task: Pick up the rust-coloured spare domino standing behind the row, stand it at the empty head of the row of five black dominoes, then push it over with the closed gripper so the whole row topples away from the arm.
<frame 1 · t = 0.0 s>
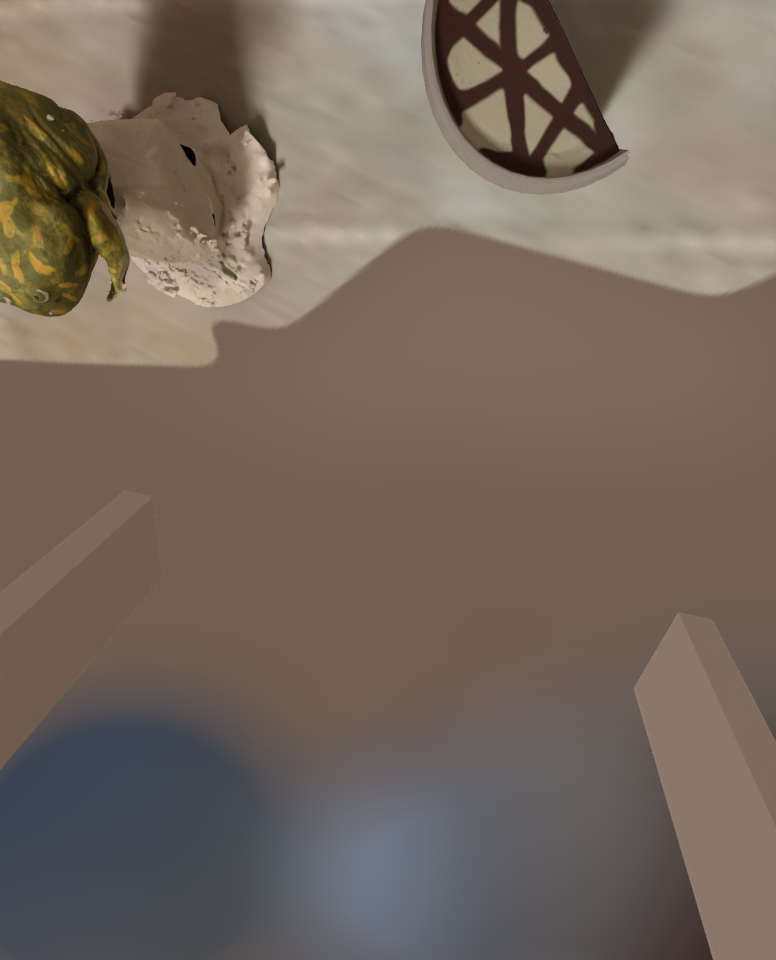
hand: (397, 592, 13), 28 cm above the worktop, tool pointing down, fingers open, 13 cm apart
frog: (202, 209, 36), on the worktop
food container: (496, 111, 31), on the worktop
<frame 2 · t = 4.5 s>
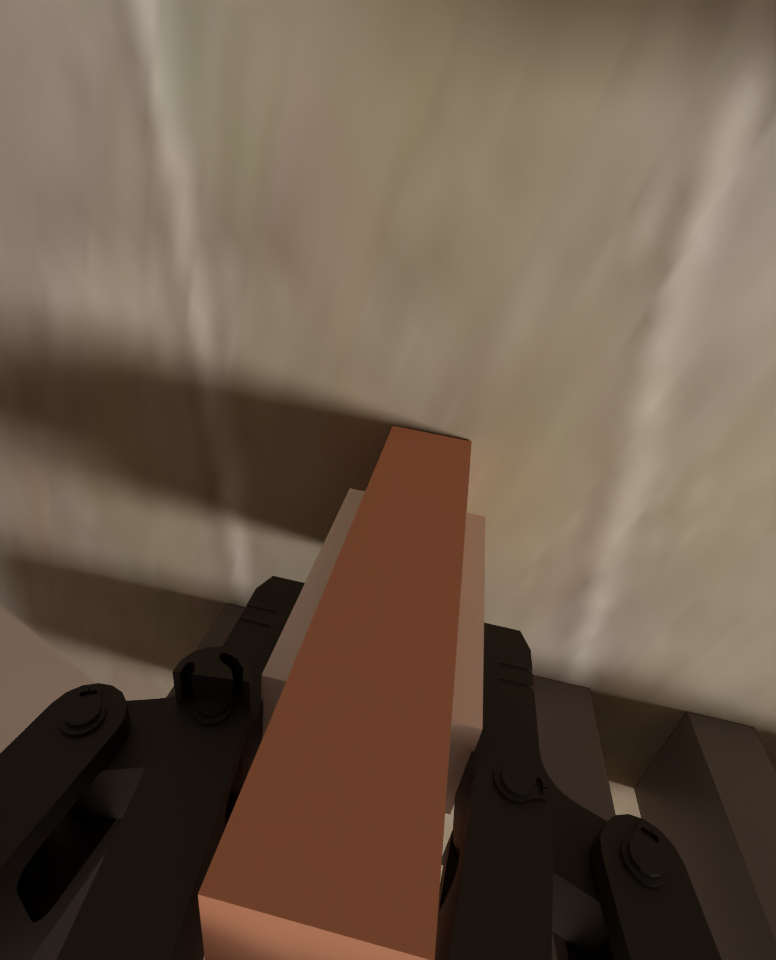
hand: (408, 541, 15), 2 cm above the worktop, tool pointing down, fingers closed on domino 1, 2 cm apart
domino 5: (690, 760, 20), on the worktop
domino 4: (538, 723, 21), on the worktop
domino 2: (255, 654, 22), on the worktop
domino 1: (417, 505, 17), on the worktop, touching gripper
when the fingers open (3 cm above the worktop, at t = 9.3 s): domino 1 stays where it is, on the worktop.
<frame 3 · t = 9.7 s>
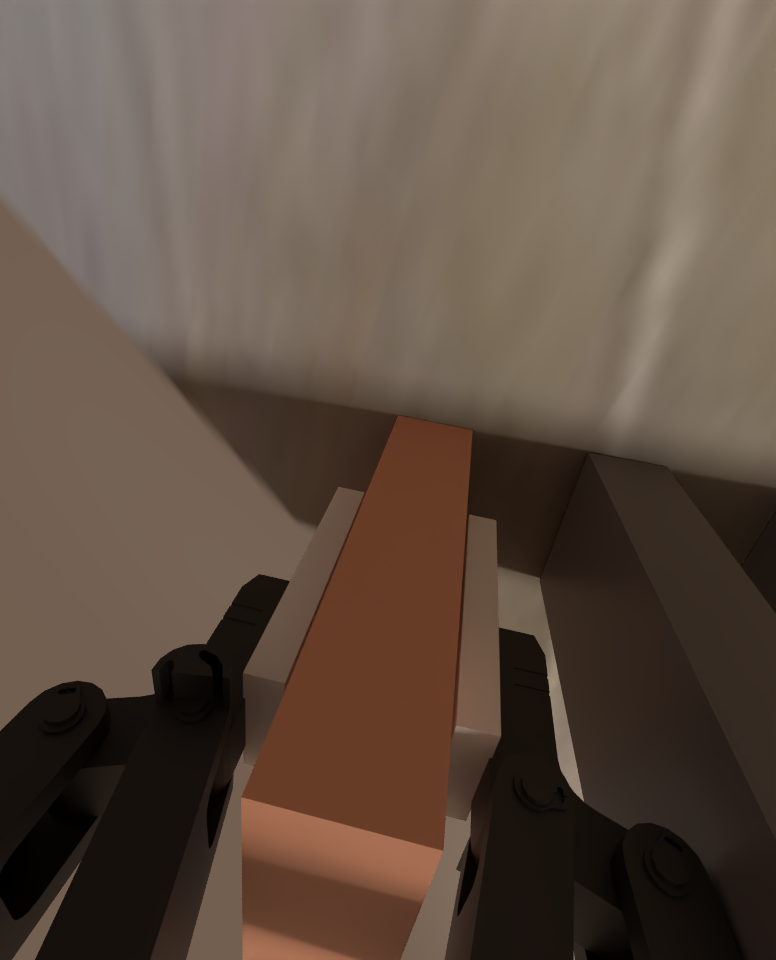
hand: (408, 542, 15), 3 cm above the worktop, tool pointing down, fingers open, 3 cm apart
domino 2: (598, 528, 17), on the worktop, touching hand
domino 1: (421, 491, 18), on the worktop
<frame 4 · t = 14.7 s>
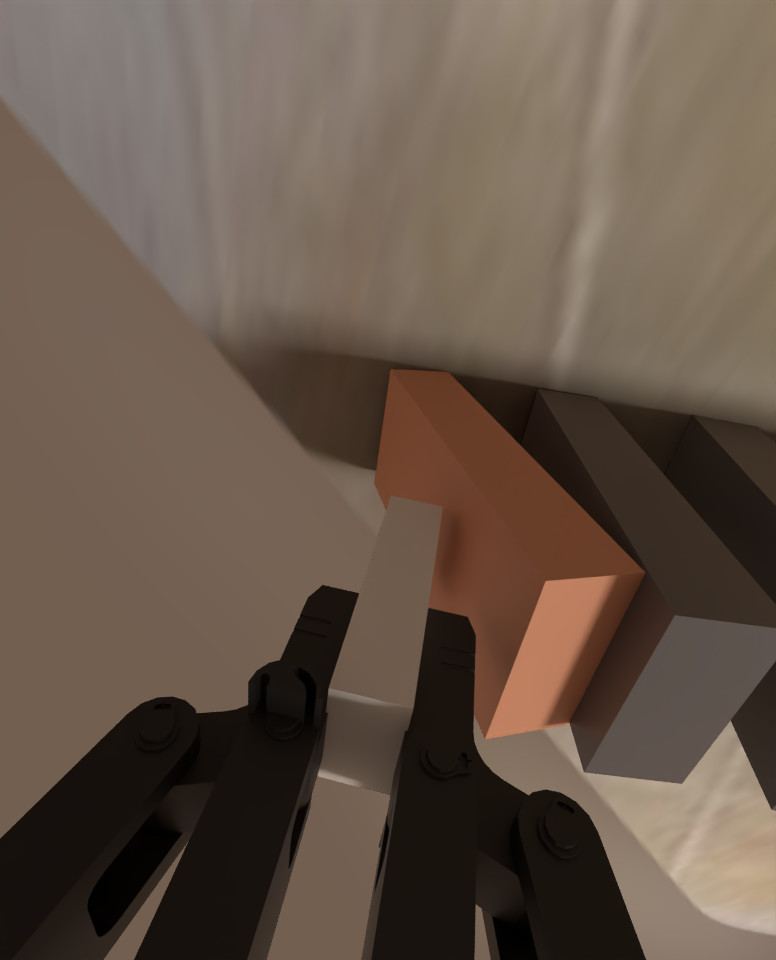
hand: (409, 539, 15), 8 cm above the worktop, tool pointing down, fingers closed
domino 3: (695, 479, 21), on the worktop
domino 2: (548, 452, 21), on the worktop, tilted 8°
domino 1: (409, 429, 21), on the worktop, tilted 24°
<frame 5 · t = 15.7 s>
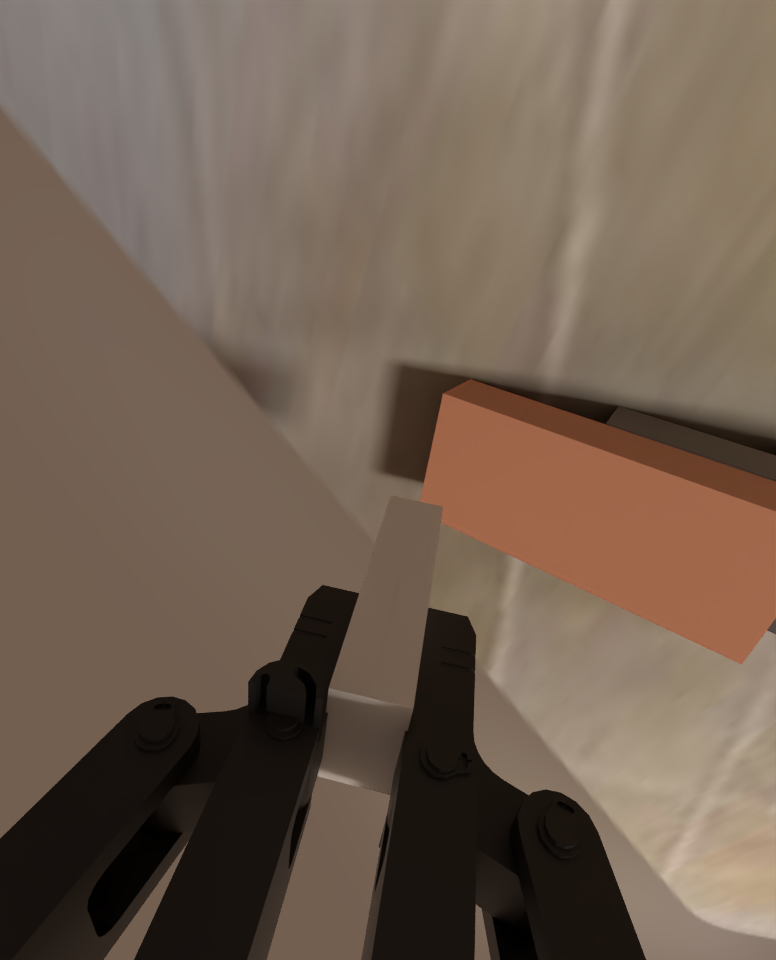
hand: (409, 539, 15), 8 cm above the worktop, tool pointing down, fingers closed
domino 2: (588, 474, 20), point 1 cm above the worktop, tilted 67°, touching domino 1, domino 3
domino 1: (443, 446, 21), point 1 cm above the worktop, tilted 67°, touching domino 2
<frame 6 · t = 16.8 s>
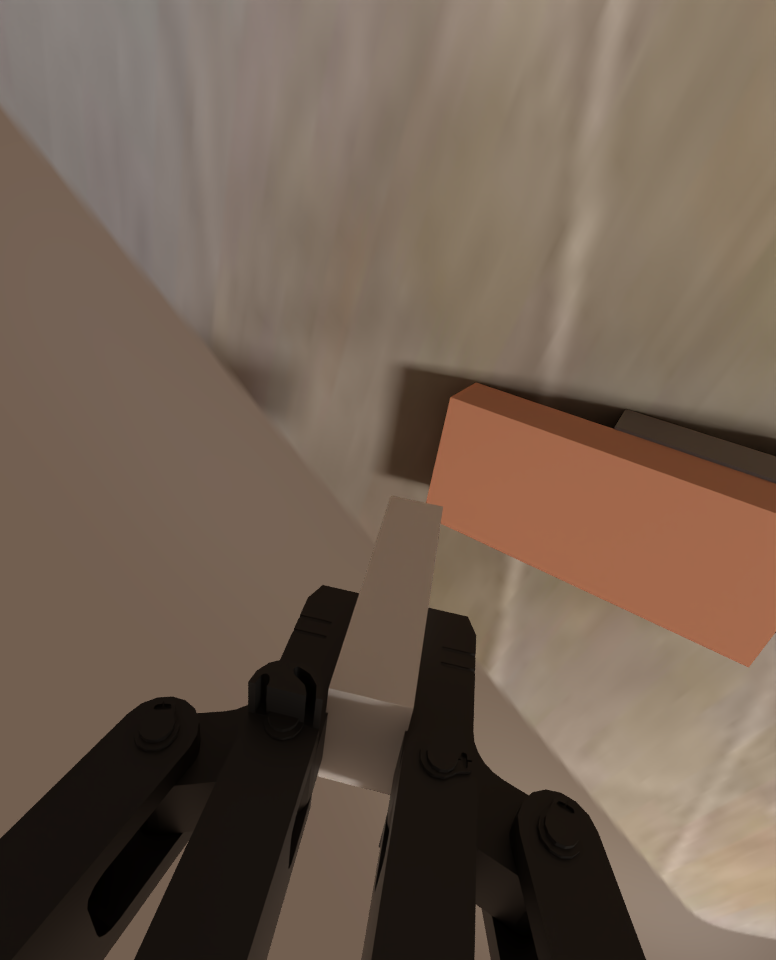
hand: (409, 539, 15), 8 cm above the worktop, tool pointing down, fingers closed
domino 2: (595, 476, 20), point 1 cm above the worktop, tilted 68°, touching domino 1, domino 3
domino 1: (449, 450, 21), point 1 cm above the worktop, tilted 68°, touching domino 2
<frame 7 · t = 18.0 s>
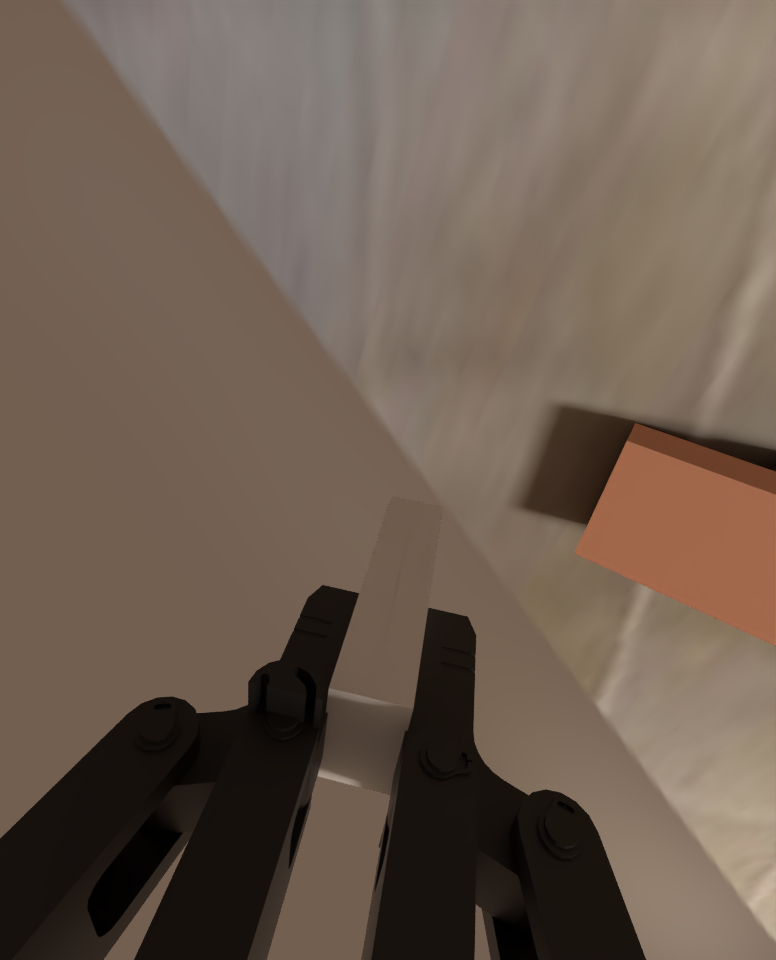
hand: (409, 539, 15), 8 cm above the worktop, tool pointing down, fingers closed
domino 1: (604, 489, 21), point 1 cm above the worktop, tilted 69°, touching domino 2
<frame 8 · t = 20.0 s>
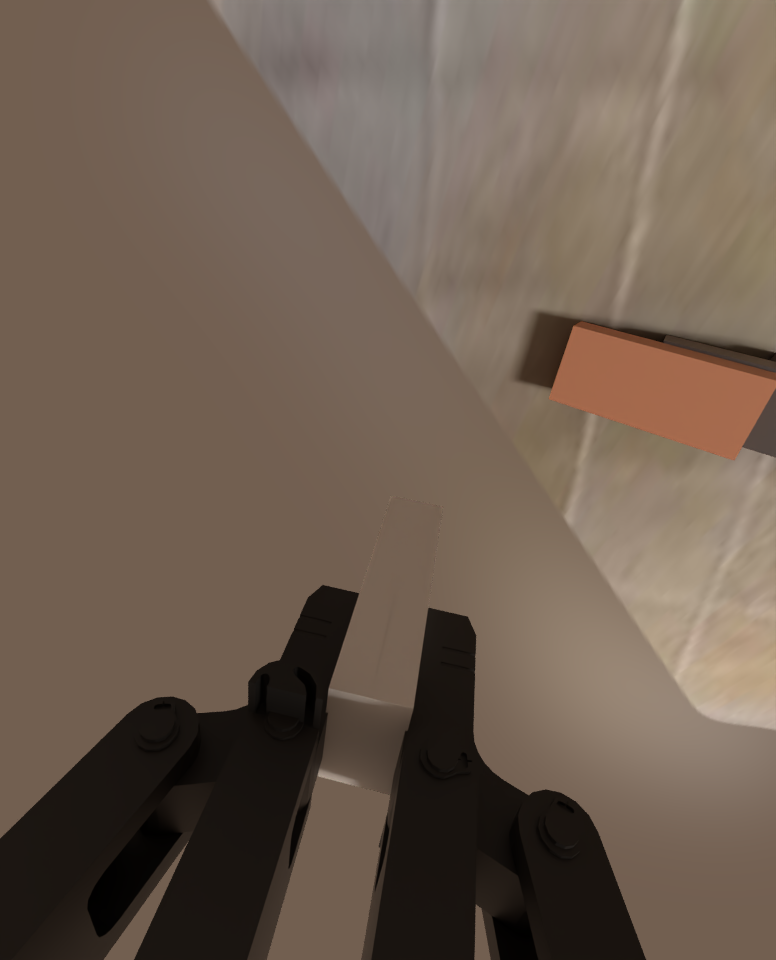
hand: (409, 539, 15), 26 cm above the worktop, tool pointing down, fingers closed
domino 2: (649, 374, 36), point 1 cm above the worktop, tilted 70°, touching domino 1, domino 3
domino 1: (564, 360, 36), point 1 cm above the worktop, tilted 69°, touching domino 2
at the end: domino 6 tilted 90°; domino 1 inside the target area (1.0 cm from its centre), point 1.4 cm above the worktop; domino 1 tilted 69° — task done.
